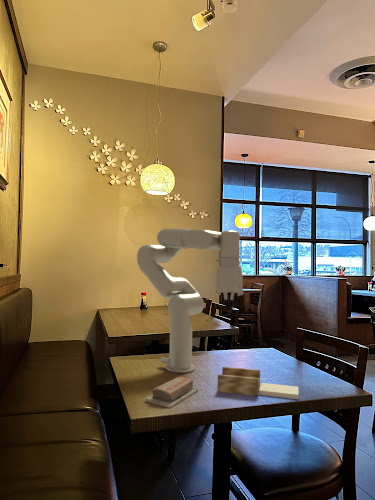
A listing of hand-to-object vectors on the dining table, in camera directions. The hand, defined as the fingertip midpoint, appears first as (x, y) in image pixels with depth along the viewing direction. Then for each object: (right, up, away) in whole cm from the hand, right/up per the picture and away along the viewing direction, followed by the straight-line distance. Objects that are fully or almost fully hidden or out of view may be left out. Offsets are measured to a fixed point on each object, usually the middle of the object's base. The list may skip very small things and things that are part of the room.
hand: (229, 310), depth 137 cm
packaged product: (-21, -27, -18) cm, 38 cm away
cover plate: (+16, -27, -13) cm, 34 cm away
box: (+3, -27, -9) cm, 28 cm away
